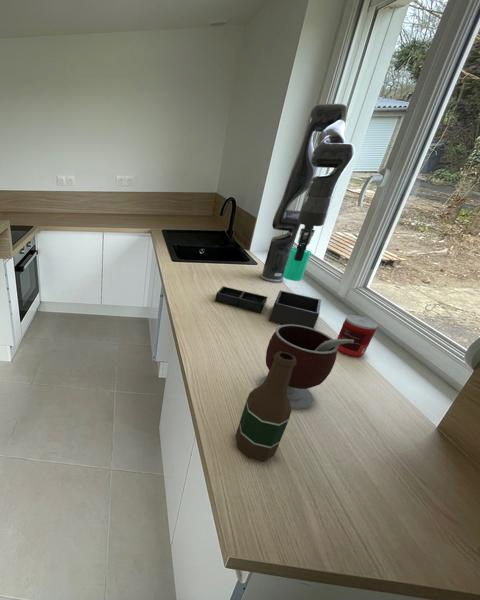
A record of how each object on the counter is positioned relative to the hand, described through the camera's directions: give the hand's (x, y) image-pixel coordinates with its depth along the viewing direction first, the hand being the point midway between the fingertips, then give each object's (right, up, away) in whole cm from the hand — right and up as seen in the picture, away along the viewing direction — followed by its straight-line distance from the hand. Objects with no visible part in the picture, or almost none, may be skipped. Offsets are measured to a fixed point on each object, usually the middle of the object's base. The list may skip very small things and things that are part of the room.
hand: (298, 257), depth 114 cm
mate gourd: (-23, -40, -29) cm, 54 cm away
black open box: (+3, -22, +8) cm, 24 cm away
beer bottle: (-40, -47, -44) cm, 76 cm away
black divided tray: (-11, -16, +19) cm, 28 cm away
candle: (0, -7, +3) cm, 8 cm away
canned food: (+9, -31, -11) cm, 34 cm away
